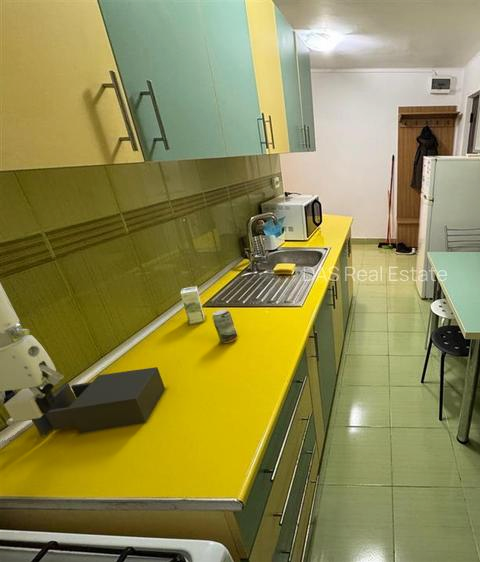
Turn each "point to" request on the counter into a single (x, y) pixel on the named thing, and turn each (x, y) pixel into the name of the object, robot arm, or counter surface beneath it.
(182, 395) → the counter surface
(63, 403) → the dark grey drawer
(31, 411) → the block
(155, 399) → the dark grey drawer box
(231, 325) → the beverage can
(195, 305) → the syrup box
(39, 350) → the robot arm
